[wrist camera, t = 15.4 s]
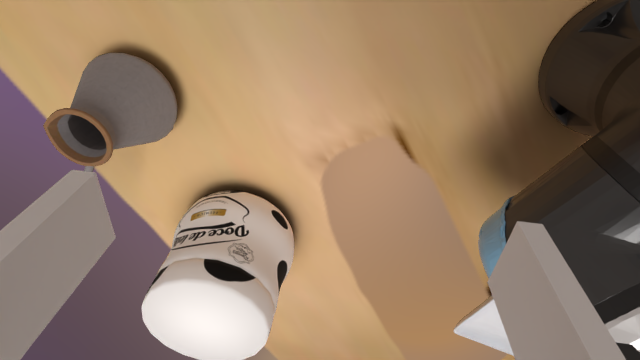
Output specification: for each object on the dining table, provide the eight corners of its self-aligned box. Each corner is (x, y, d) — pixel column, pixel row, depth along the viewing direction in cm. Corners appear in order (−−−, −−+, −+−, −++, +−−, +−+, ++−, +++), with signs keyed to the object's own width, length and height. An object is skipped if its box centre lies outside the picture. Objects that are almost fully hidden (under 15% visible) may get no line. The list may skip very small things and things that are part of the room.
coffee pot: (99, 29, 44) (-4, 70, 32) (194, 70, 46) (133, 123, 33) (88, 168, 56) (10, 238, 43) (164, 196, 57) (111, 271, 45)
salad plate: (640, 289, 60) (654, 307, 57) (540, 353, 71) (548, 371, 68) (533, 239, 56) (543, 256, 53) (446, 315, 68) (450, 333, 65)
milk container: (224, 159, 53) (170, 251, 38) (320, 224, 58) (307, 327, 43) (170, 228, 61) (109, 325, 46) (258, 279, 66) (229, 382, 51)
